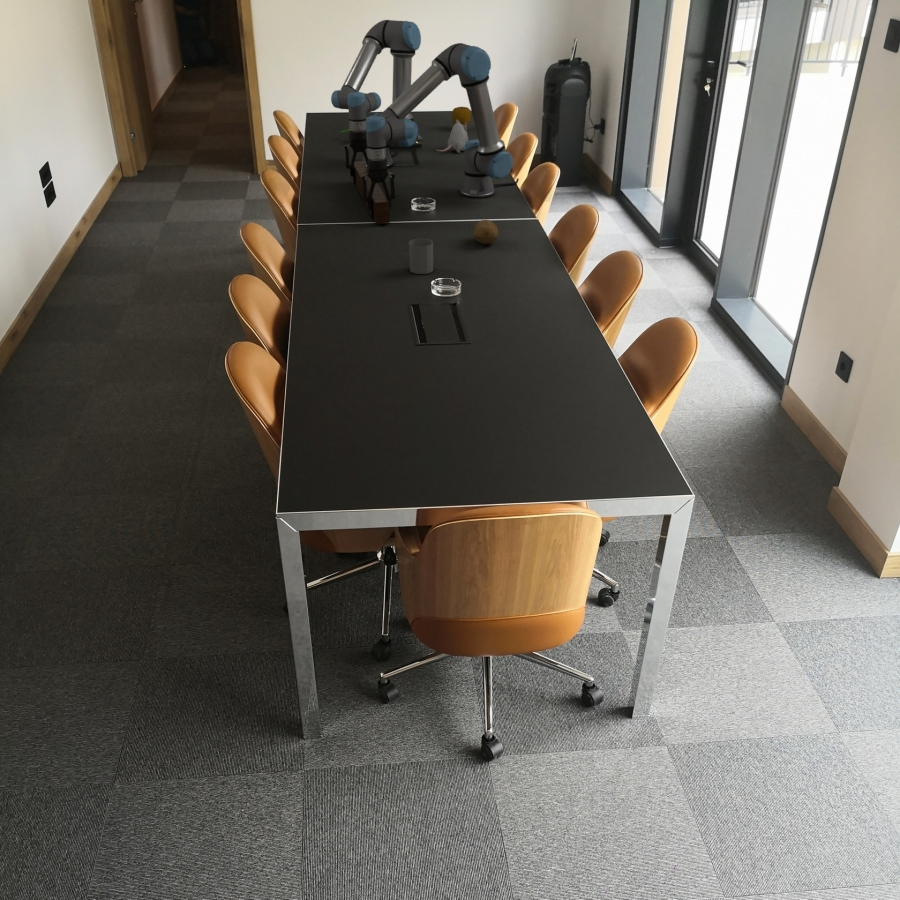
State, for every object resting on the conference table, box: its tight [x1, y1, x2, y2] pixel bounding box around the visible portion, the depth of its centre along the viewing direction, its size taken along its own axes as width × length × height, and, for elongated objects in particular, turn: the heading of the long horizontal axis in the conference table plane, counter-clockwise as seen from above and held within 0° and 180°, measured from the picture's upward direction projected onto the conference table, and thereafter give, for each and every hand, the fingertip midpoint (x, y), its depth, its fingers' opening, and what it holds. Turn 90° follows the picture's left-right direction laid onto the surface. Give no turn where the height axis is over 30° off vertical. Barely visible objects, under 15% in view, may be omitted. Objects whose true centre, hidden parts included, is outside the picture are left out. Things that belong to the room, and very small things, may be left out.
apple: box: [451, 105, 472, 129], centre depth 487 cm, size 11×11×13 cm
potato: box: [472, 219, 499, 245], centre depth 330 cm, size 10×14×8 cm
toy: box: [436, 120, 469, 154], centre depth 444 cm, size 9×24×15 cm, turn 137°
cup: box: [408, 237, 434, 275], centre depth 305 cm, size 8×8×10 cm
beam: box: [353, 160, 391, 225], centre depth 373 cm, size 65×6×9 cm, turn 14°
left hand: (361, 183), depth 395 cm, fingers closed on beam, 5 cm apart
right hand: (379, 216), depth 354 cm, fingers closed on beam, 5 cm apart
